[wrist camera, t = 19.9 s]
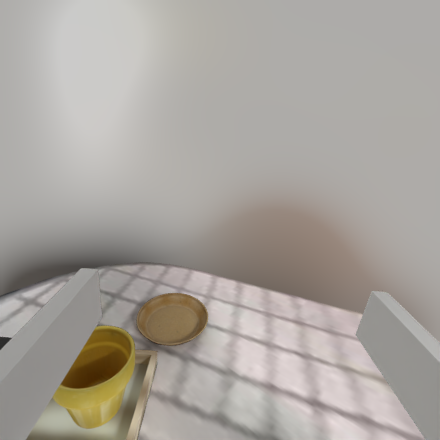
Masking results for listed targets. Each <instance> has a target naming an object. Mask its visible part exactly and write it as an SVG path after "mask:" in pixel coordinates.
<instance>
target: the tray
mask: <svg viewBox="0 0 440 440" xmlns="http://www.w3.org/2000/svg"><path fill="white" fill-rule="evenodd" d="M156 366H157V351H150V350H135V366H134V371H133V374H132V376H131V378H130V380H129V382H128V383H127V385H126V388H125V392H124V396H123V400H122V404H121V406H120V408H119V410H118V412H117V413H116V414H115V416H114V417H113V418H112V419H111V420H110V421H108V422H107V423H105V424H103V425H102V426H99V427H96V428H92V429H85V428H82V427H79V426H78V425H77V424H76V423H75V422H74V421H73V419H72V417H71V416H70V414H69V413H68V411H67V409H66V408H64V407H62V406H60V405H59V404H58V403H56V401H55V400H54V399H53V397H52V398H51V400H50V402H49V403H48V405H47V406H46V408H45V410H44V411H43V413H42V414H41V416H40V418H39V419H38V421H37V423H36V424H35V426H34V427H33V429H32V431H31V432H30V434H29V435H28V437H27V439H26V440H137V439H138V435H139V431H140V427H141V424H142V420H143V416H144V412H145V408H146V405H147V401H148V397H149V393H150V389H151V385H152V382H153V378H154V374H155V370H156Z"/></svg>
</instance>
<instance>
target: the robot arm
mask: <svg viewBox="0 0 440 440" xmlns="http://www.w3.org/2000/svg"><path fill="white" fill-rule="evenodd" d="M101 318H102V307H101V295H100V284H99V273H98V269H87V268H81V269H80V270H79V271H78V272H77V273H76V274H75V275H74V276H73V277H72V278H71V279H70V280H69V281H68V282H67V283H66V284H65V285H64V286H63V287H62V288H61V289H60V290H59V291H58V292H57V293H56V294H55V295H54V296H53V297H52V298H51V299H50V300H49V301H48V302H47V303H46V304H45V305H44V306H43V307H42V308H41V309H40V310H39V311H38V312H37V313H36V314H35V315H34V316H33V317H32V319H31V320H30V321H29V322H28V323H27V324H26V325H25V326H24V327H23V328H22V329H21V330H20V331H19V332H18V333H17V334H16V335H15V336H14V337H13V338H8V337H0V440H26V439H27V437H28V435H29V434H30V432H31V431H32V429H33V427H34V426H35V424H36V423H37V421H38V419H39V418H40V416H41V414H42V413H43V411H44V410H45V408H46V406H47V405H48V403H49V402H50V400H51V398H52V397H53V395H54V394H55V392H56V390H57V389H58V387H59V386H60V384H61V382H62V381H63V379H64V377H65V376H66V374H67V373H68V371H69V369H70V368H71V366H72V365H73V363H74V361H75V360H76V358H77V357H78V355H79V353H80V352H81V350H82V349H83V347H84V345H85V344H86V342H87V340H88V339H89V337H90V336H91V334H92V332H93V331H94V329H95V328H96V326H97V324H98V323H99V321H100V320H101ZM356 336H357V338H358V339H359V341H360V342H361V344H362V345H363V347H364V348H365V350H366V351H367V353H368V354H369V356H370V357H371V359H372V360H373V362H374V363H375V365H376V366H377V368H378V369H379V371H380V372H381V374H382V375H383V377H384V378H385V380H386V381H387V383H388V384H389V386H390V387H391V389H392V390H393V392H394V393H395V394H396V396H397V397H398V399H399V400H400V402H401V403H402V405H403V406H404V408H405V409H406V411H407V412H408V414H409V415H410V417H411V418H412V420H413V421H414V423H415V424H416V426H417V427H418V429H419V430H420V432H421V433H422V435H423V436H424V438H425V439H426V440H440V343H439V342H438V341H437V340H436V339H435V338H434V337H433V336H432V335H431V334H430V333H429V332H428V331H427V330H426V329H425V328H424V327H423V326H422V325H421V324H420V323H418V322H417V321H416V320H415V319H414V318H413V317H412V316H411V315H410V314H409V313H408V312H407V311H406V310H405V309H404V308H403V307H402V306H400V304H399V303H398V302H397V301H396V300H394V298H393V297H392V296H390V294H388V293H387V292H377V291H372V292H371V295H370V298H369V300H368V303H367V305H366V308H365V311H364V313H363V316H362V319H361V321H360V324H359V327H358V329H357V332H356Z"/></svg>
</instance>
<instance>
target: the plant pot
mask: <svg viewBox="0 0 440 440" xmlns="http://www.w3.org/2000/svg"><path fill="white" fill-rule="evenodd" d="M134 366H135V344H134V341H133V338H132V337H131V335H130V334H129V333H128V332H126V331H125V330H123V329H121V328H119V327H115V326H97V327H96V328H95V329H94V331H93V332H92V334H91V336H90V337H89V339H88V340H87V342H86V344H85V345H84V347H83V349H82V350H81V352H80V353H79V355H78V357H77V358H76V360H75V361H74V363H73V365H72V366H71V368H70V369H69V371H68V373H67V374H66V376H65V377H64V379H63V381H62V382H61V384H60V386H59V387H58V389H57V390H56V392H55V394H54V395H53V399H54V400H55V401H56V403H58V404H59V405H60V406H62V407H64V408H66V409H67V411H68V413H69V414H70V416H71V417H72V419H73V421H74V422H75V423H76V424H77V425H78V426H79V427H82V428H85V429H92V428H96V427H99V426H102V425H103V424H105V423H107V422H108V421H110V420H111V419H112V418H113V417H114V416H115V414H116V413H117V412H118V410H119V408H120V406H121V404H122V400H123V396H124V392H125V388H126V385H127V383H128V382H129V380H130V378H131V376H132V374H133V371H134Z"/></svg>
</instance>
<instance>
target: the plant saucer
mask: <svg viewBox="0 0 440 440" xmlns="http://www.w3.org/2000/svg"><path fill="white" fill-rule="evenodd" d="M136 321H137V327H138V329H139V331H140V332H141V333H142V335H143V336H145V337H146V338H147V339H149V340H150V341H152V342H154V343H157V344H160V345H167V346H173V345H179V344H183V343H186V342H188V341H190V340H192V339H194V338H195V337H197V336H198V335H199V334H200V333H201V332H202V331H203V330H204V329H205V327H206V325H207V322H208V312H207V310H206V308H205V306H204V305H203V304H202V302H200V301H199V300H198V299H196V298H195V297H192V296H190V295H187V294H182V293H168V294H163V295H159V296H157V297H154V298H152V299H151V300H149V301H148V302H146V303H145V304H144V305H143V306H142V307H141V309H140V310H139V312H138V314H137V320H136Z"/></svg>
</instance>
